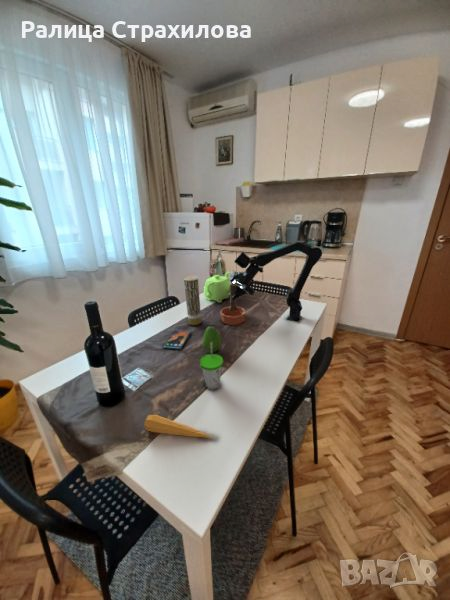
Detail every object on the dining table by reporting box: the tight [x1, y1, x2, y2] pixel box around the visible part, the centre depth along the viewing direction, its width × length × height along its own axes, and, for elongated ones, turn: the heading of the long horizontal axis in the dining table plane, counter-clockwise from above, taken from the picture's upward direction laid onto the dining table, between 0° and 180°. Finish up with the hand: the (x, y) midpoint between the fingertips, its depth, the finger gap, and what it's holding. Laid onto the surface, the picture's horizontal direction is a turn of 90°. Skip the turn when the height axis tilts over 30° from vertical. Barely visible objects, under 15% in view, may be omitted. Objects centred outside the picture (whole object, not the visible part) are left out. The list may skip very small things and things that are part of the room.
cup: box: [199, 342, 224, 391], centre depth 80 cm, size 8×8×15 cm
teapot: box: [203, 271, 231, 303], centre depth 154 cm, size 25×22×16 cm
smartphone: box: [163, 329, 192, 350], centre depth 111 cm, size 8×1×15 cm
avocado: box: [201, 325, 222, 354], centre depth 100 cm, size 8×8×12 cm
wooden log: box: [183, 275, 202, 326], centre depth 121 cm, size 7×7×25 cm
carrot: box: [143, 414, 215, 439], centre depth 65 cm, size 20×4×4 cm, turn 78°
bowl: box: [220, 306, 246, 326], centre depth 127 cm, size 13×13×5 cm
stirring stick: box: [228, 283, 238, 312], centre depth 122 cm, size 4×4×14 cm
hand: (230, 298), depth 122 cm, fingers closed on stirring stick, 3 cm apart
